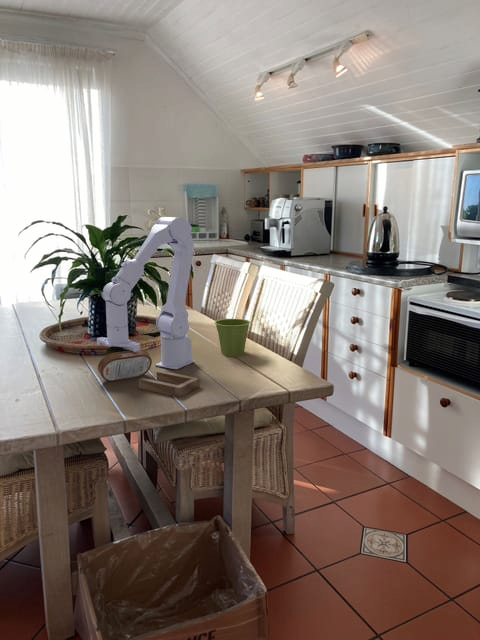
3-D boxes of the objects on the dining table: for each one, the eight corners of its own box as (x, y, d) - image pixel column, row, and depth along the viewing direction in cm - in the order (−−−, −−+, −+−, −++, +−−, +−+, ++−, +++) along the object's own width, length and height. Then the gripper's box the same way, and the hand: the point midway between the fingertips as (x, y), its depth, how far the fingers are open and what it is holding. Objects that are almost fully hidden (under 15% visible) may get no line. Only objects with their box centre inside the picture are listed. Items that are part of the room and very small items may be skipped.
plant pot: (257, 354, 174) (257, 320, 171) (237, 362, 164) (237, 327, 162) (228, 348, 180) (228, 316, 178) (207, 356, 170) (206, 322, 168)
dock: (160, 379, 148) (159, 370, 147) (199, 387, 141) (199, 378, 141) (138, 388, 140) (138, 379, 140) (179, 397, 134) (179, 388, 133)
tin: (147, 370, 153) (150, 346, 149) (151, 376, 151) (154, 352, 147) (96, 378, 145) (98, 353, 141) (100, 385, 143) (102, 360, 139)
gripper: (87, 325, 146) (90, 371, 149) (127, 331, 139) (129, 380, 142) (106, 320, 152) (108, 365, 155) (144, 326, 145) (146, 373, 148)
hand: (119, 372), depth 149 cm, fingers closed, pressing on tin
